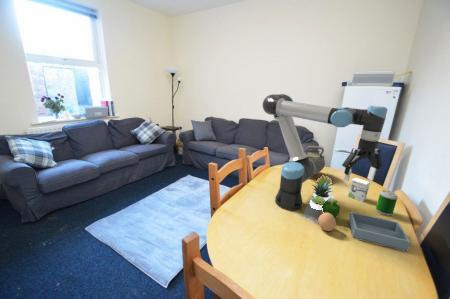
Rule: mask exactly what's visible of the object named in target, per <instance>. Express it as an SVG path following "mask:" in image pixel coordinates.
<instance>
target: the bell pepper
mask: <svg viewBox="0 0 450 299" xmlns="http://www.w3.org/2000/svg"><path fill="white" fill-rule="evenodd" d="M324 202H325V203H324ZM324 202H323V203H324V204H323V203H322V204H323V206H322V205H321V209H322V208H323V212H324V213H330V214H332V215H333V216H334V218H335V219H337V217H338V216H339V213H340V210H341V205H339V204H338V200H332V201H331V202H330V201H328V200H325V201H324Z"/></svg>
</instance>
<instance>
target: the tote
mask: <svg viewBox="0 0 450 299" xmlns="http://www.w3.org/2000/svg"><path fill="white" fill-rule="evenodd" d="M349 212H350V213H349V217H348V223H349V228H350V231H351V236H352V238H353V239H355V240H361V241H363V242H368V243H370V244H371V243H372V244H374V245H375V244H376V245H379V246H384V247H387V248H391V249H395V250H400V251H404V252H408V251H409V247H410V244H411V241H410V239H409V238H408V235H407V233H405V230H404V229H403V228H402V226H401V224H400V223H399V221H394V220H390V219H386V218H381V217H376V216H373V215H367V214H363V213H358V212H353V211H349Z"/></svg>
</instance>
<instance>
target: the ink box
mask: <svg viewBox="0 0 450 299" xmlns="http://www.w3.org/2000/svg"><path fill="white" fill-rule="evenodd" d="M370 184H371V183H370V181H367V180H366V179H365V180H364V179H362V178H358V177H354V178H351V182H350V187H349V190H348V194H347V197H349V198H351V199H355V200H357V201H358V202H362V203H363V202H365V201H366V200H367V195H368V193H369V189H370Z"/></svg>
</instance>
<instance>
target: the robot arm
mask: <svg viewBox="0 0 450 299" xmlns="http://www.w3.org/2000/svg"><path fill="white" fill-rule="evenodd" d="M262 108H263V111H264V113H266V114H267V115H271V116H272V115H273V118H274V120H276V121H278V125H279V128H280V130H281V134H282V137H283V140H284V143H285V146H286V150H287V151H288V154H289V160H288V162H285V163H284V164H283V165H282V167H281V169H280V170H281V171H280V181H279V182H280V183H279V189H278V191H277V194H276V195H275V198H274V203H275V204H276V205H277V206H278V207H280V208H282V209H284V210H288V211H297V210H300V209H302V208H303V203H304V202H303V198H302V187H303V183H305V182H306V181H308V180H309V179H311V178H312V177H314V176H315V175H314V173H315V165H314V163H313V162H312V161H311V160H310V159H309V157H308V155H306V154H305V153H304V151H305V150H304V148H303V145H302V142H301V139H300V136H299V133H298V131H297V130H298V129H297V126H296V124H295V121H294V118H298V119H303V120H308V121H312V122H313V121H314V122H318V123H324V124H328V125H332V126H334V127H335V128H345V127H348V126H349V125H357V126H362V130H361V132H360V138H359V141H358V148H355V147H353V148H351V151H350V153H349V155H348V156H347V157H346V159H345V160H344V161H343V162H342V164H341V167H344V168H345V169H344V173H343V174H344V177H343V180H345V181H346V182H350V179H351V174H352V170H353V169H352V167H354V166H355V165H356V164H357V163H359V161H360V160H363V159H367V160H368V161H369V163H370V165H371V166H370V169H369V172H368V175H367V179H368V180H369V181H371V182H372V181H374V178H375V175H376V173H377V171H378V170H380V168H382V167H383V164H382V158H381V153H382V152H381V151H382V150H381V149H379V148H378V147H379V140H380V138H381V136H382V135H381V134H382V131H383V129H384V125H385V122H386V117H387V113H388V107H386V106H380V105H369V106H368V107H367V108H365V109H364V108H362V109H361V108H354V107H353V108H352V107H342V106H341V107H339V108H337V107H330V106H324V105H318V104H317V105H316V104H309V103H304V102H297V101H294V100H293V98H292V97H291V96H289V95H287V94H285V93H284V94H283V93H280V94H277V93H276V94H274V93H273V94H269V95H267V96H266V97H265V98H264V99H263V101H262ZM315 174H316V173H315ZM313 175H314V176H313Z"/></svg>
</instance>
